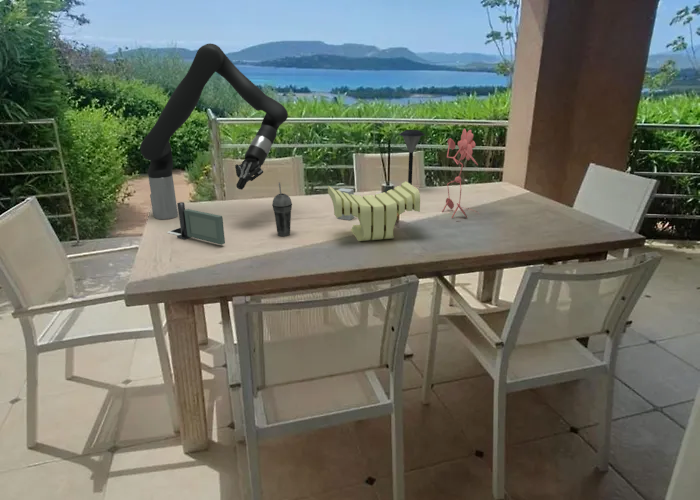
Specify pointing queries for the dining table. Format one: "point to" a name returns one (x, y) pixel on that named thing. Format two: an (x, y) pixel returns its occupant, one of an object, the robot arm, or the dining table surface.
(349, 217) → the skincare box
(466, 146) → the figurine
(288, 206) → the beverage cup
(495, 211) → the dining table surface
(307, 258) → the dining table surface
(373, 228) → the slatted curved stool
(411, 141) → the solar garden light
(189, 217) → the green rectangular panel
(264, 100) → the robot arm
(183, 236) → the post
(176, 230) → the cell phone
